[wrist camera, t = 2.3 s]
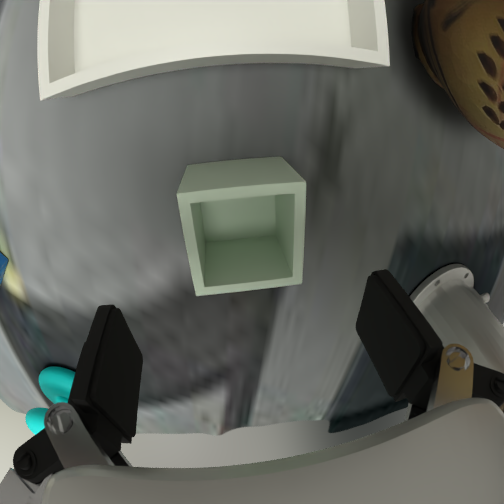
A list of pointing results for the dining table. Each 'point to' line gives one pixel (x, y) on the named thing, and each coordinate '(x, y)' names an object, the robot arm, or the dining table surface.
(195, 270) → the box
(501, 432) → the robot arm
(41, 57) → the white shallow tray
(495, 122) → the ceramic jug
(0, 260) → the ink box
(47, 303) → the dining table surface
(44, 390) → the donuts
